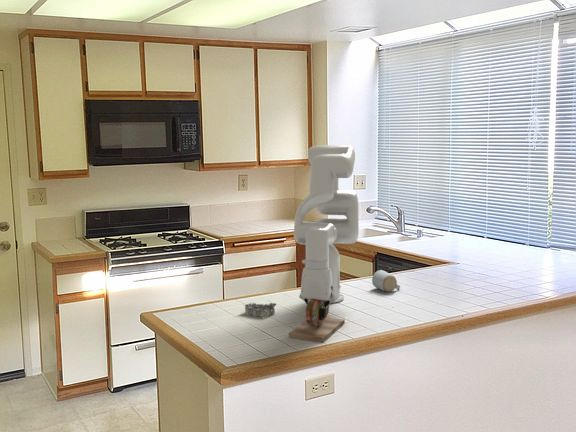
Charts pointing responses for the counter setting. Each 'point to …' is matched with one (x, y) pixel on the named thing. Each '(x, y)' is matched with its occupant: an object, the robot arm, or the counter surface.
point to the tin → (314, 312)
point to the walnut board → (317, 330)
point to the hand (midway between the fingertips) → (317, 318)
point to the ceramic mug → (384, 281)
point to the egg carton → (260, 309)
